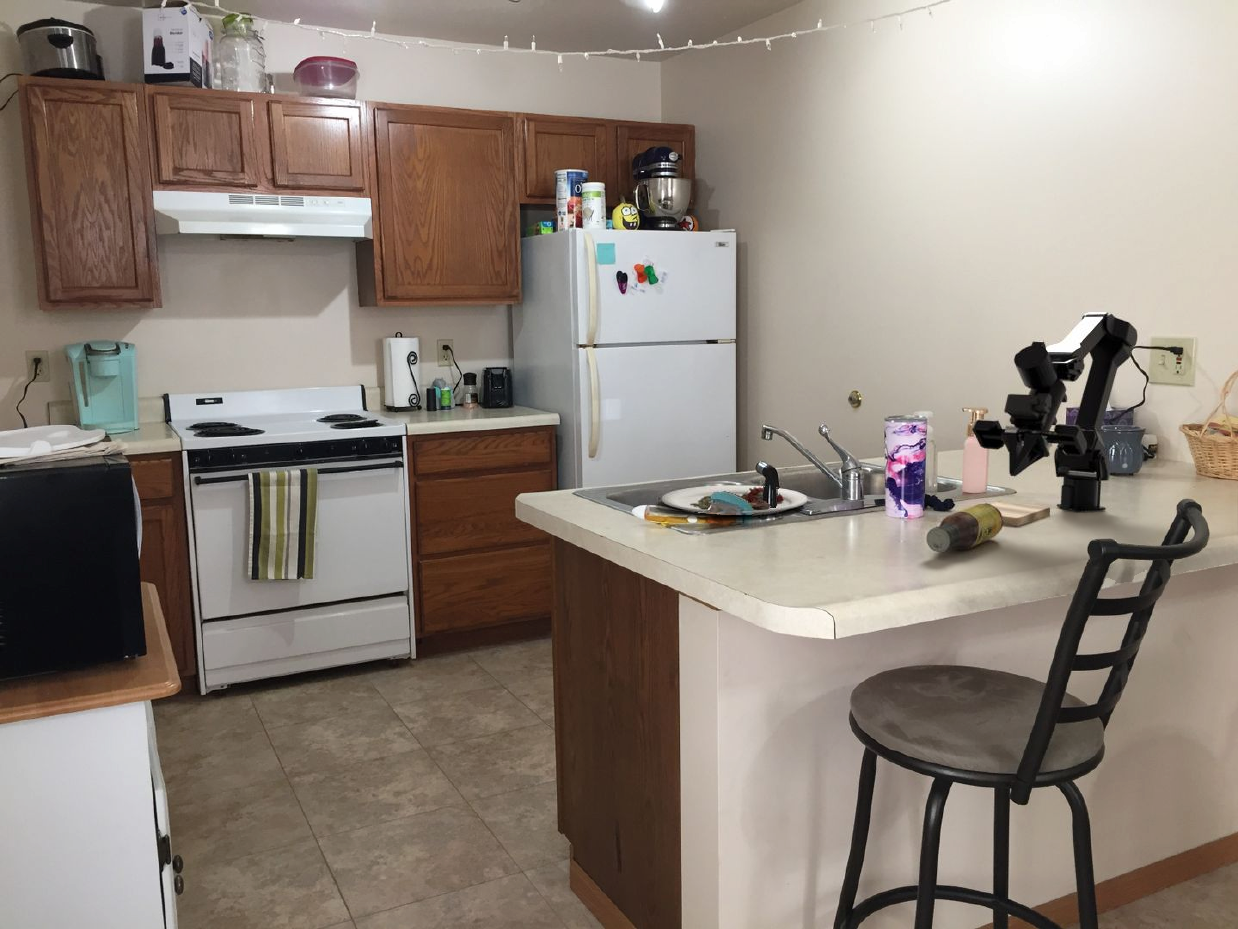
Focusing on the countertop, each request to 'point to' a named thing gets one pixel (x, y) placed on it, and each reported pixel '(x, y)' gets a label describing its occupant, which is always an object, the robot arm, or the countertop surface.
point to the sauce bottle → (966, 528)
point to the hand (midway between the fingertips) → (1012, 474)
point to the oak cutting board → (1020, 512)
